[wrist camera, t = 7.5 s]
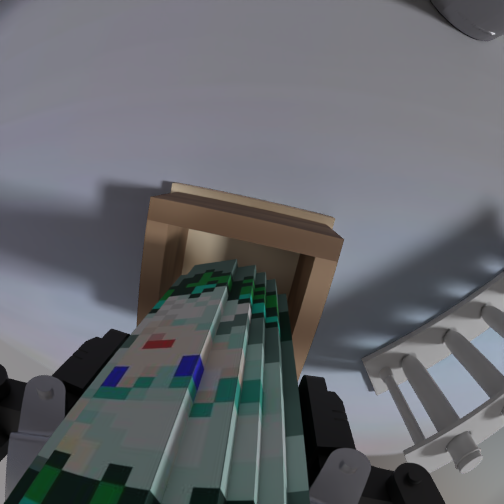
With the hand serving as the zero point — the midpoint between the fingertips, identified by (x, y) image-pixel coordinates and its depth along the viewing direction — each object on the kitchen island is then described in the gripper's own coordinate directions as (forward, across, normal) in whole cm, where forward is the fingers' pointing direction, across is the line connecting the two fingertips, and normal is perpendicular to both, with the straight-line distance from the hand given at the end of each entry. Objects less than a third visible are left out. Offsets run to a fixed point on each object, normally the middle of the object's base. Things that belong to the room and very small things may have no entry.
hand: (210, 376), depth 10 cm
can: (+5, 0, 0) cm, 5 cm away
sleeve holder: (+12, 0, 0) cm, 12 cm away
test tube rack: (+12, -22, -1) cm, 25 cm away
